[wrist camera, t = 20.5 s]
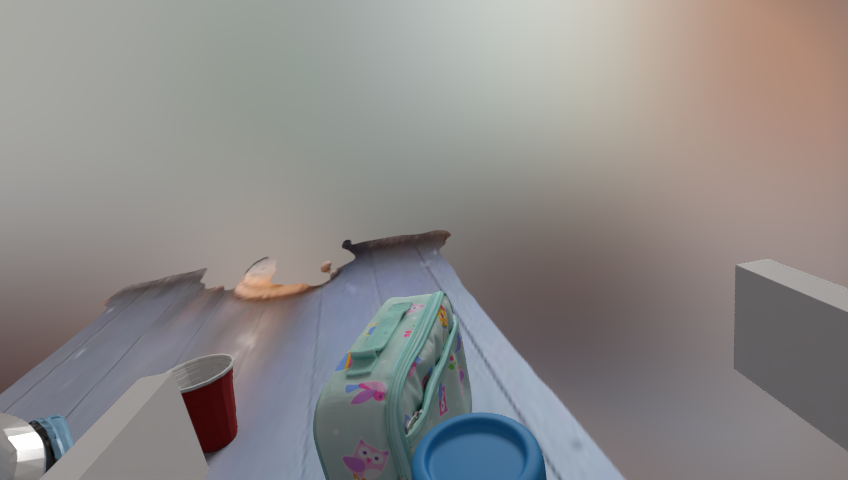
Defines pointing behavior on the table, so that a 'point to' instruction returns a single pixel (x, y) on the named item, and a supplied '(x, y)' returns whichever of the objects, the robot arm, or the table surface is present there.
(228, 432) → the plastic cup
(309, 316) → the table surface
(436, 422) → the lunch box
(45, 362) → the table surface
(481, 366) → the table surface
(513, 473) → the beverage bottle
